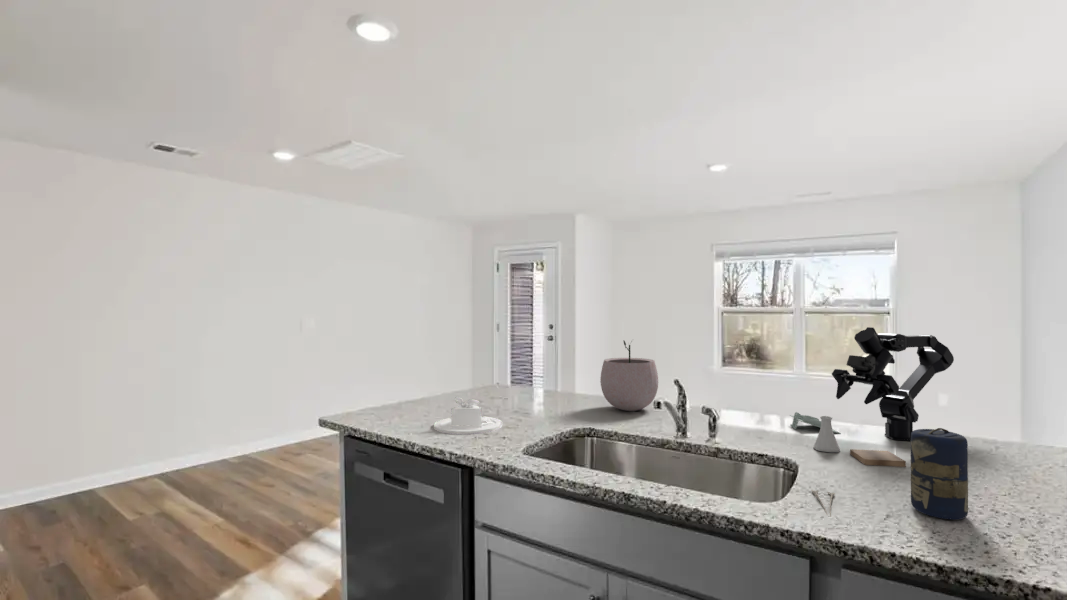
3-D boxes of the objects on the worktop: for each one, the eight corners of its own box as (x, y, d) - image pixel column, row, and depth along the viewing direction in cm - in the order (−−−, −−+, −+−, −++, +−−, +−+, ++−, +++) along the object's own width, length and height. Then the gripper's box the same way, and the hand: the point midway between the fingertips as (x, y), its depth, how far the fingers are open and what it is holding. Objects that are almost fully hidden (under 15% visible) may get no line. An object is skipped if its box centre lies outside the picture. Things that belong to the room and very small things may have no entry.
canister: (899, 505, 113) (898, 423, 113) (940, 504, 114) (939, 422, 114) (937, 524, 103) (936, 434, 104) (981, 522, 104) (980, 432, 104)
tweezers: (811, 493, 122) (811, 485, 122) (834, 497, 120) (834, 488, 120) (817, 528, 106) (817, 518, 106) (844, 532, 104) (844, 522, 104)
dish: (499, 435, 177) (499, 402, 177) (426, 435, 177) (426, 402, 178) (504, 419, 202) (504, 390, 202) (440, 419, 202) (440, 390, 202)
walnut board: (888, 456, 149) (888, 450, 149) (905, 466, 140) (905, 461, 140) (850, 454, 151) (850, 449, 151) (864, 464, 142) (864, 459, 142)
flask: (837, 447, 159) (837, 415, 159) (843, 454, 152) (842, 420, 152) (811, 445, 161) (810, 413, 161) (815, 452, 154) (815, 418, 154)
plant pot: (654, 404, 228) (654, 336, 228) (662, 416, 204) (662, 340, 204) (599, 403, 230) (599, 336, 230) (601, 415, 206) (601, 340, 207)
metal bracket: (803, 417, 176) (786, 408, 191) (798, 433, 177) (782, 423, 192) (846, 429, 175) (825, 419, 190) (841, 446, 175) (821, 435, 190)
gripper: (835, 344, 171) (811, 379, 167) (892, 348, 154) (867, 387, 150) (852, 367, 174) (828, 402, 170) (910, 374, 157) (885, 413, 153)
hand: (850, 400), depth 160 cm, fingers open, 9 cm apart
